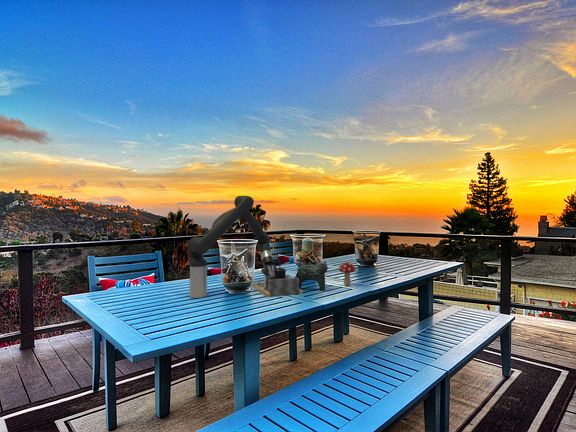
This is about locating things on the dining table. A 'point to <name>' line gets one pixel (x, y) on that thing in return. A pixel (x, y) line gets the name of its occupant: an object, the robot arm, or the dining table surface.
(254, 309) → the dining table surface
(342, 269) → the decorative mushroom
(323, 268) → the dark green legged piece
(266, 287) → the sliding jaw
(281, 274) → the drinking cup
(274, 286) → the vise frame
